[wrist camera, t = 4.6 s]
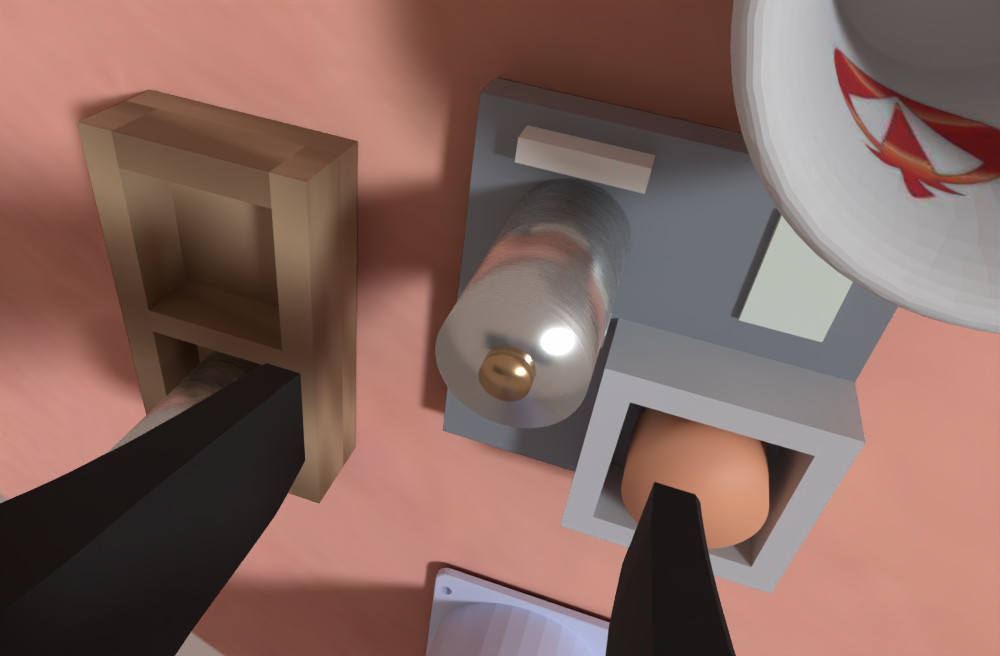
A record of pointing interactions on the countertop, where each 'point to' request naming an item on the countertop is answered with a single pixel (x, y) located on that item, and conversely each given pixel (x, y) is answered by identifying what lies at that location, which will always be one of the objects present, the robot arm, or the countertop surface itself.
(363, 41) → the countertop surface
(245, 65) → the countertop surface
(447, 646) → the robot arm
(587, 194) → the cylinder
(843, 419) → the grey board with box
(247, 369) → the cell
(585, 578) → the countertop surface
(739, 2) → the cup
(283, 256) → the wooden divided tray
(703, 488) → the button
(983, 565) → the countertop surface
